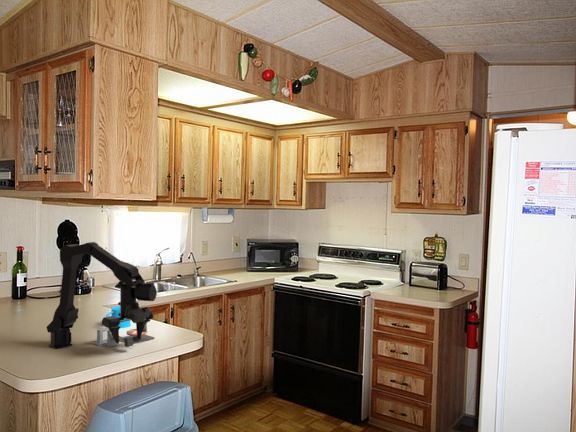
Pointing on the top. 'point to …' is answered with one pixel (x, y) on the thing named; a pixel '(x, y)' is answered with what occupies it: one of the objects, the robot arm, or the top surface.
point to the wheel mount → (141, 338)
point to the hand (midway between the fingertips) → (128, 340)
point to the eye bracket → (102, 342)
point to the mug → (115, 312)
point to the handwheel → (134, 331)
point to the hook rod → (124, 340)
